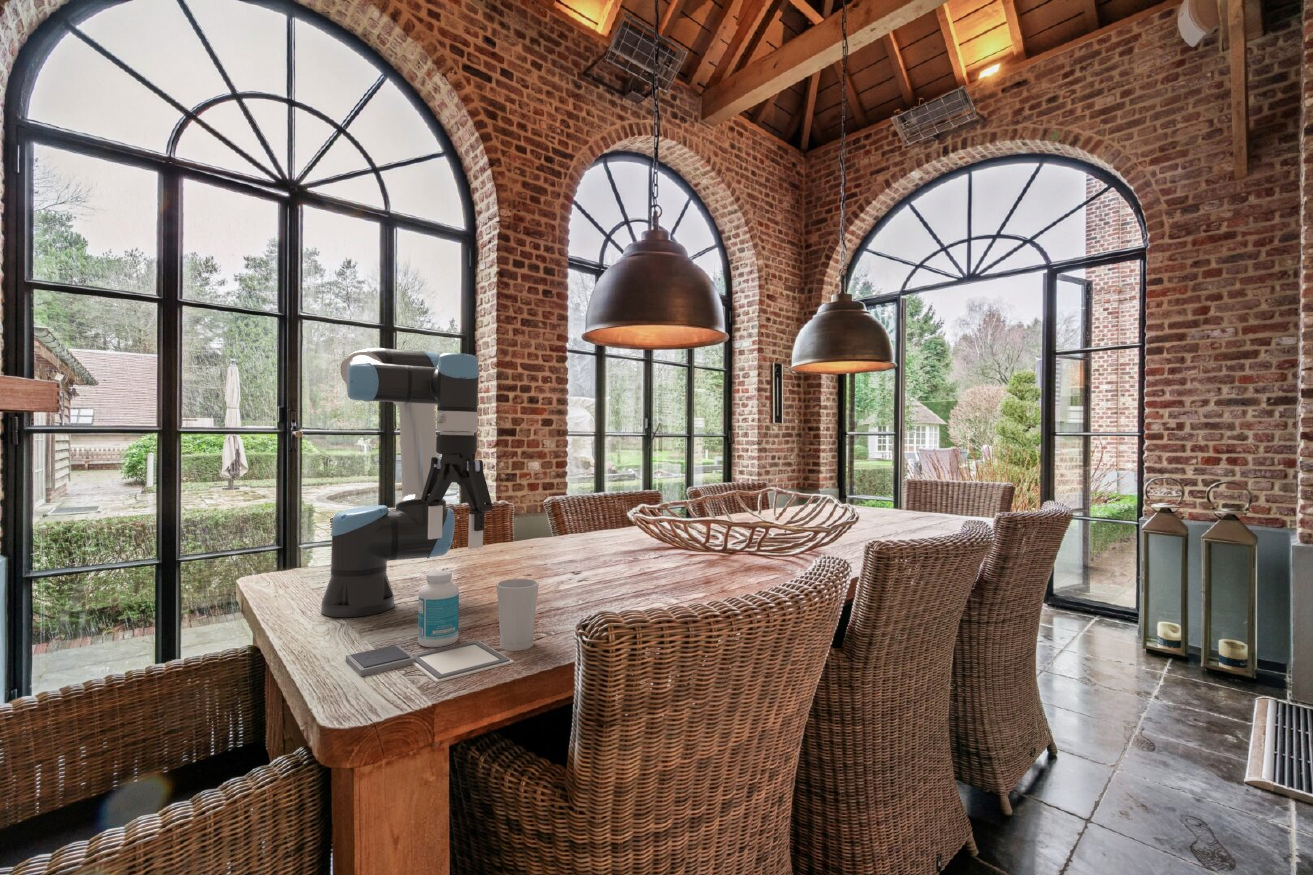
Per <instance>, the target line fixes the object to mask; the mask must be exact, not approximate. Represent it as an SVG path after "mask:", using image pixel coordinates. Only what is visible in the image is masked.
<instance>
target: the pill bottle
mask: <svg viewBox="0 0 1313 875" xmlns="http://www.w3.org/2000/svg"><path fill="white" fill-rule="evenodd" d="M452 578H453V575H452V572H451V571H447V570H437V571H436V570H435V571H430V572H427V573H426V578H425V581H426V582H427V583H426V584H424V585H422V586H421V587H420V588H419V590H418V613H417V614H418V618H417V619H418V620H417V621H418V623H417V630H418V631H417V635H418V636H417V642H418V644H419V645H421V647H422V646H423V647H425V648H444V647H448V646H450V645H452V644H454V643H455V642H457V641H458V639H459V616H460V615H459V614H460V613H459V608H460V607H459V604H460V602H459V601H460V598H459V597H460V596H459V595H460V593H459V592H460V590H459V586H458V585H457V584H456V583H454V582H451V580H452Z"/></svg>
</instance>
